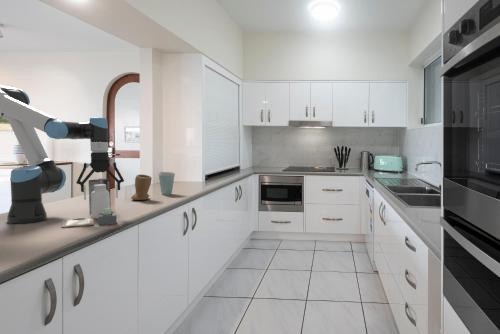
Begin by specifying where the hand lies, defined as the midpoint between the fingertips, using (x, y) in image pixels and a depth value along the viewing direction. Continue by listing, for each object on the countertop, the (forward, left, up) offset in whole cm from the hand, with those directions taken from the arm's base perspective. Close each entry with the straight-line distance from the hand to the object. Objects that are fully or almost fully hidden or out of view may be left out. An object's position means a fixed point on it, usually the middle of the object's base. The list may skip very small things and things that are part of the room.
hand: (101, 198), depth 183 cm
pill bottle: (0, 0, -9) cm, 9 cm away
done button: (+2, -14, -6) cm, 15 cm away
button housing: (+2, -14, -9) cm, 16 cm away
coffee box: (0, +16, -9) cm, 18 cm away
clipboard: (-9, -12, -9) cm, 17 cm away
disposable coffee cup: (+42, +71, -9) cm, 83 cm away
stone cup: (+24, +52, -9) cm, 58 cm away
